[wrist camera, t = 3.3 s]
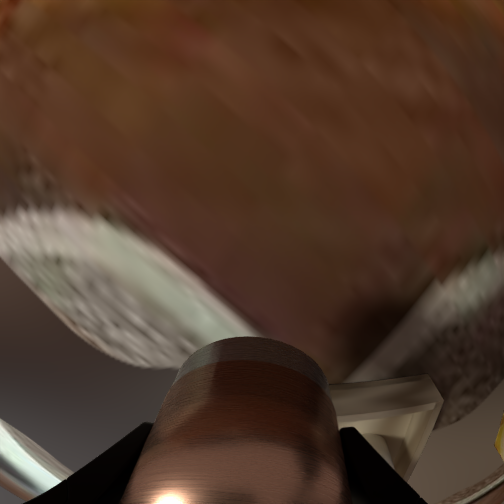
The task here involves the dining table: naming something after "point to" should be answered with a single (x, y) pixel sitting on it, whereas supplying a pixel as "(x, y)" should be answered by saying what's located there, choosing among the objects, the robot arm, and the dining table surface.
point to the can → (244, 431)
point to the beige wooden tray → (391, 414)
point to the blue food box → (500, 439)
